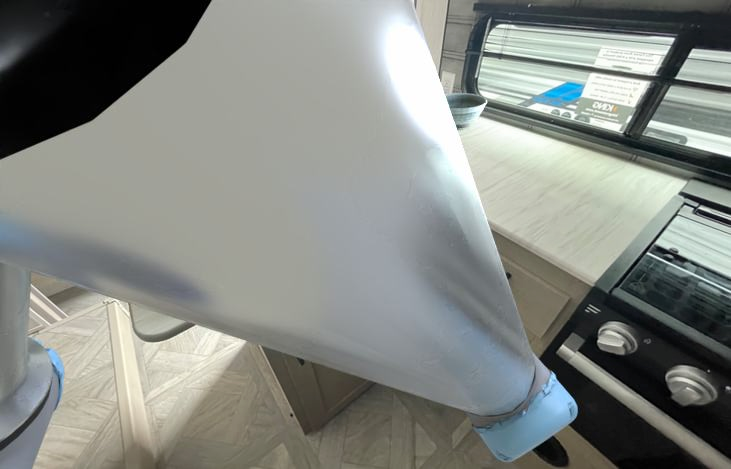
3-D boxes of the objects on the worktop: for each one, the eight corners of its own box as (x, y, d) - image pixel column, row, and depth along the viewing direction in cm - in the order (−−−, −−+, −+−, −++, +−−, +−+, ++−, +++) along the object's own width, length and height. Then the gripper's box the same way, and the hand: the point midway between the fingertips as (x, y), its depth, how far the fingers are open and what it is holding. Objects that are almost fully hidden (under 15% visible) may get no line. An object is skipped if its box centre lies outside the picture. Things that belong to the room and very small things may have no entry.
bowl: (490, 130, 116) (497, 104, 110) (442, 135, 114) (446, 109, 107) (467, 114, 132) (472, 90, 126) (424, 118, 129) (426, 94, 123)
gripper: (330, 354, 41) (199, 310, 47) (361, 285, 50) (248, 256, 56) (323, 324, 36) (178, 280, 42) (359, 255, 45) (236, 227, 51)
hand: (218, 266), depth 49 cm, fingers closed
